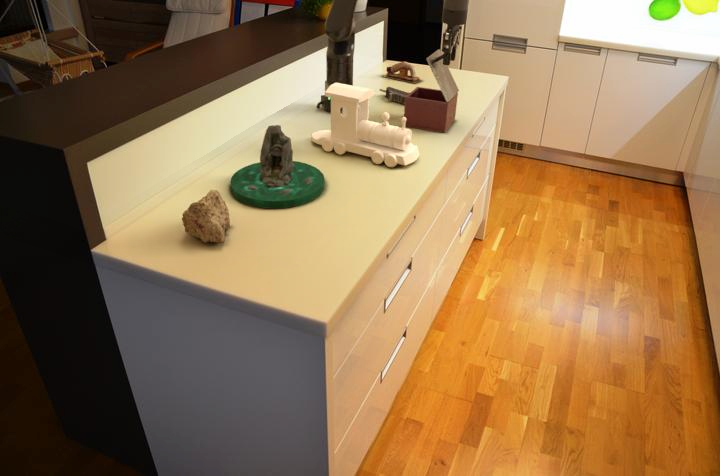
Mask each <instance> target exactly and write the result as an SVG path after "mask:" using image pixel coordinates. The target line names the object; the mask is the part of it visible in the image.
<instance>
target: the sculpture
mask: <svg viewBox="0 0 720 476" xmlns="http://www.w3.org/2000/svg"><path fill="white" fill-rule="evenodd" d="M409 73H410V74H409ZM382 77H384V78H389V79H392V80H399V81H403V82H408V83H412V84H417V83H419V82H421V81H423V80H422V79H420V77H419V76H417V75H416V68H415V66H414V65H413V64H411V63H409V62H408V61H400V62H398V63H394V64H392V65H390V66H386V75H383V76H382Z"/></svg>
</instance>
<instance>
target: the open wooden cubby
mask: <svg viewBox="0 0 720 476" xmlns="http://www.w3.org/2000/svg"><path fill="white" fill-rule="evenodd" d="M409 93H410V94H408V95H407V96H406V97H405V104H404V111H403V113H404V114H403V117H406V119H407V120H406V123H405V127H406V128H407V127H408V128H413V129H420V130H425V131H431V132H437V133H443V134H445V133H446V132H447V131H448V130H449V128H450V127H451V126H452V125H453V124H454V122H455V121H456V113H457V105H458V95H459V91H458V92H457V93H456V95H455V96H454V97H453V98H452V99H451V100H450V101H449V102H446V100H445V97H444V95H443V93H442V91H441V89H436V88H430V87H429V88H428V87H421V86H416V87H415V88H414V89H412V91H410V92H409Z"/></svg>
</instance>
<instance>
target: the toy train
mask: <svg viewBox="0 0 720 476" xmlns="http://www.w3.org/2000/svg"><path fill="white" fill-rule="evenodd" d="M375 93H376V91H375V90H374V89H371V88H366V87H363V86H362V87H361V86H356V85H353V86H352V85H346V84H341V83H334V84H332V85H330V86H329V88H328V89H327V90H326V91H325V90H324V95H325V96H326V97H331V112H330V130H329V129H322V130H316V131H314V132H313V133H312V134H311V137H310V138H311V141H312V142H313V143H315V144H317V145H321V148H322V149H323V150H324V151H325V152H328V153H329V152H332V151H333V150H334V152H335V154H337V155H339V156H341V155H344V154H345V153H346V152H347V153H353V154H357V155H361V156H364V157H368V158H369V157H370V158H371V161H372V162H373V164H376V165H381V164H382V163H383V162H384V164H385V166H387V167H388V168H394V167H396V166H397V165H401V166H408V165H410V164H412V163H414V162H416V161H417V159H418V158H419V156H420V150H419V148H418V145H414V144H413V143H412V141H413V131H412V130H411V129H410V128H407V127H406V126H405V123H406V120H407V119H406V117H404V116H403V117H402V118H401V127H400V126H397V125H391V124H390V122H388V121H389V120H390V113H389V112H387V111H384V112H383V113H382V114H381V119H382V120H383V121H382V122H377V121H376V122H375V121H372V120H369V109H370V107H369V105H370V98H371V97H373V96H375ZM358 106H359V108H358ZM342 107H343V112H342V113H340V109H341V108H342Z"/></svg>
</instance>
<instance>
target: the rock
mask: <svg viewBox="0 0 720 476" xmlns="http://www.w3.org/2000/svg"><path fill="white" fill-rule="evenodd" d="M229 211H230V210H229V207H228V206H227V204H226V200H224V198H223V197H222V195H221V194H220V191H218V190H216V189H211V190H210V191H208V192H207V193H206V195H205V196H202V197H201V199H199V200H198V201H196V202H192V203H191V204H189V206H188V208H187V209H186V210H184V211H183V213H182V215H181V216H182V217H181V222H182V225H183V228H184V232H185V233H187V234H189V235H192V236H193V237H195V238H197V239H200V240H201V241H202V242H203V243H209V242H211V243H219V242H220V243H224V241H225V240H226V235H225V233H226V230H227V229H229V228H230V226H231V225H230V223H231V221H230V219H231V218H230V213H229Z"/></svg>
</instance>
